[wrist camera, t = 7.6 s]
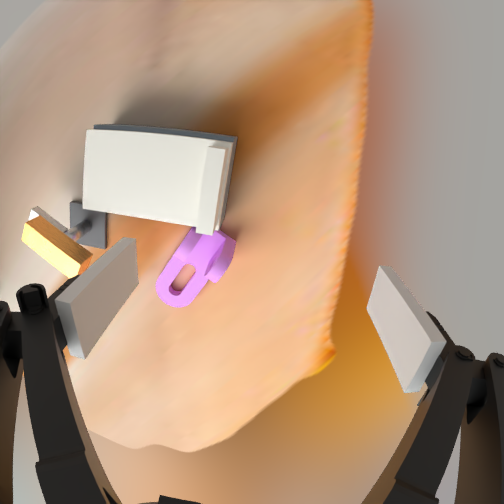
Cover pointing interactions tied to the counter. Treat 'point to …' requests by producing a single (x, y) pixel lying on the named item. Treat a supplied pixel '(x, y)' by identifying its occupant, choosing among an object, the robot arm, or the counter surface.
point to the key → (57, 242)
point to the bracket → (196, 265)
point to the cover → (156, 176)
